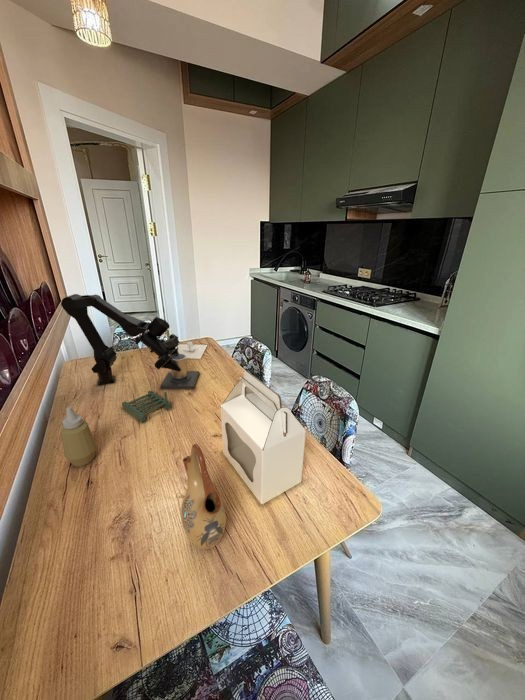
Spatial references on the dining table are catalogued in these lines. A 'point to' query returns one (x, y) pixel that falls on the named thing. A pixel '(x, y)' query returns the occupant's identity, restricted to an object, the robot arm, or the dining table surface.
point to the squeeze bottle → (77, 439)
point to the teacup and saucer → (191, 350)
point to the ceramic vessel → (201, 504)
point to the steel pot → (181, 363)
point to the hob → (180, 381)
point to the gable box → (262, 438)
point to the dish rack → (150, 395)
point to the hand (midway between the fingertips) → (182, 367)
